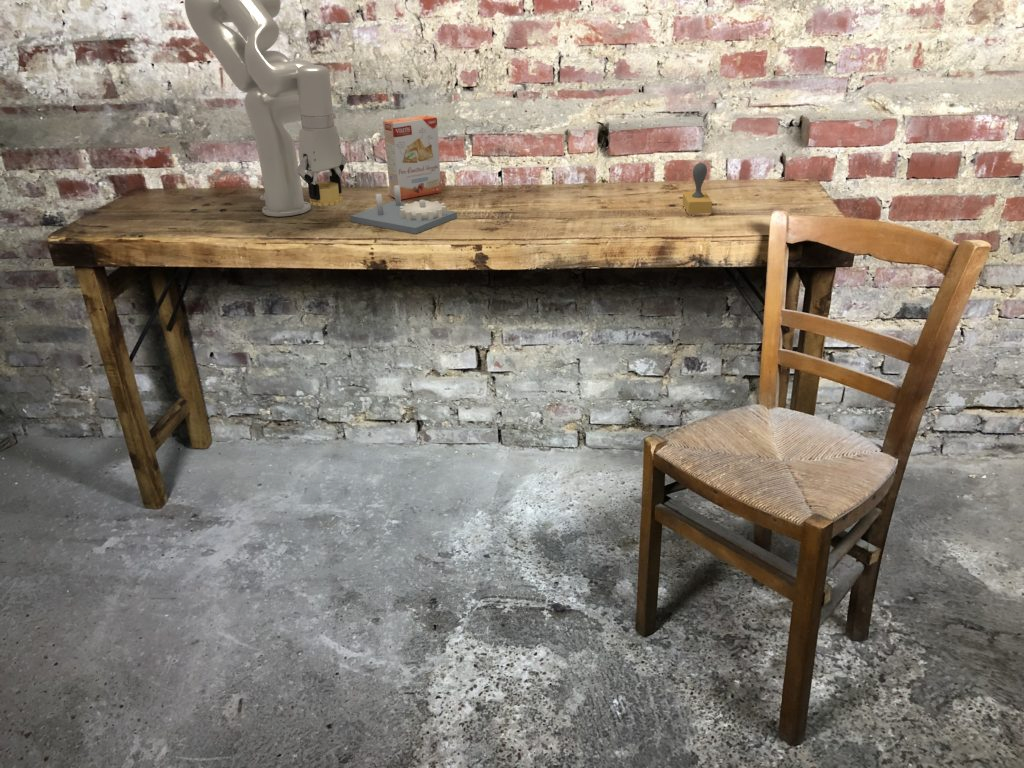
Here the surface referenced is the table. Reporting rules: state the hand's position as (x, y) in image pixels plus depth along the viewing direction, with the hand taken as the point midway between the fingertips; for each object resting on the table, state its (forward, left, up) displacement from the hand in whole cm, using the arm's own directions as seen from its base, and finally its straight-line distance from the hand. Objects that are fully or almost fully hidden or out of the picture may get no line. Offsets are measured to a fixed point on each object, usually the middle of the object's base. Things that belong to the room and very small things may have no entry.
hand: (325, 195), depth 190 cm
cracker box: (+1, +33, -7) cm, 34 cm away
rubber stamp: (+76, +55, -7) cm, 94 cm away
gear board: (+15, +12, -7) cm, 20 cm away
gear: (0, 0, -2) cm, 2 cm away
